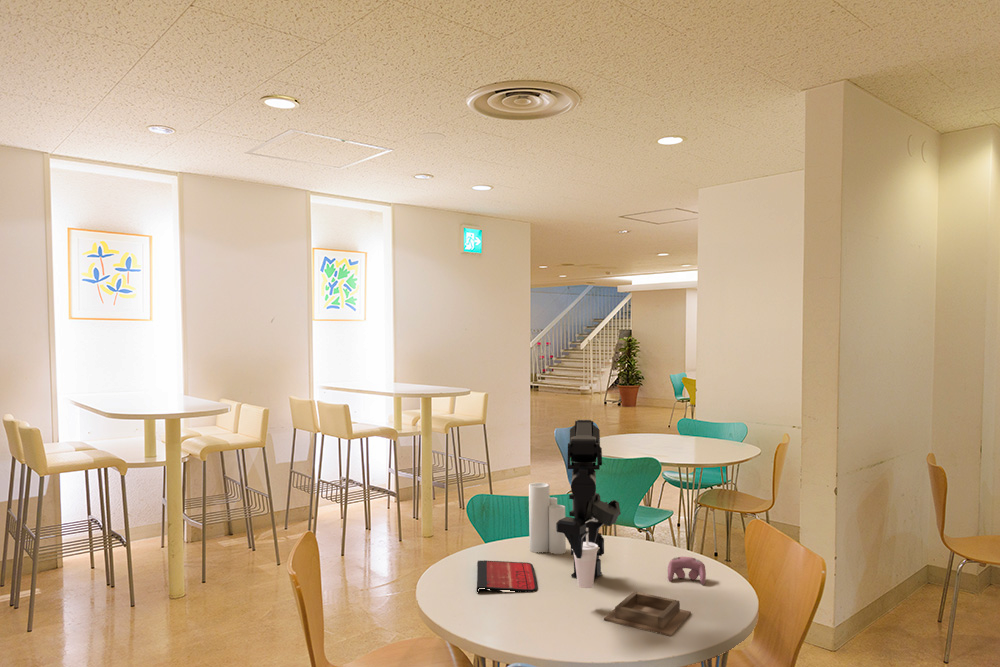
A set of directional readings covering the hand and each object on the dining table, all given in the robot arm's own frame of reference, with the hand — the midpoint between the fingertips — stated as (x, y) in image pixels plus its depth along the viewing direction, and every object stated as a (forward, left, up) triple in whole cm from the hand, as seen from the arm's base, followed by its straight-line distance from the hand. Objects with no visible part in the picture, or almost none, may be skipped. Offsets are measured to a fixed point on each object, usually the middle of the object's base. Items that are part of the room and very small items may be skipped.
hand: (585, 554), depth 162 cm
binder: (-27, +6, -13) cm, 31 cm away
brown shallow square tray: (+15, +2, -13) cm, 20 cm away
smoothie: (0, 0, -8) cm, 8 cm away
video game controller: (+15, +30, -13) cm, 36 cm away
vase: (-29, +33, -13) cm, 46 cm away
